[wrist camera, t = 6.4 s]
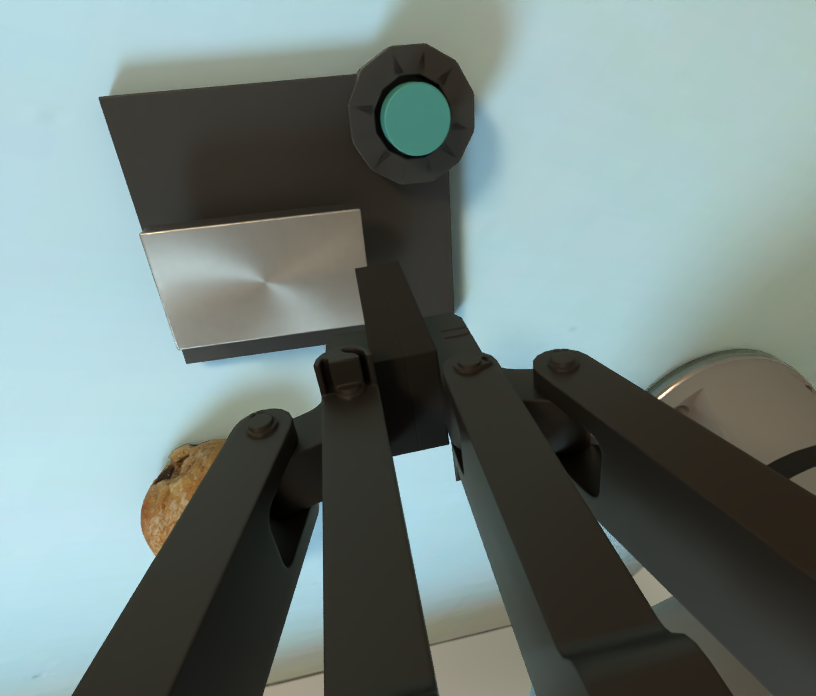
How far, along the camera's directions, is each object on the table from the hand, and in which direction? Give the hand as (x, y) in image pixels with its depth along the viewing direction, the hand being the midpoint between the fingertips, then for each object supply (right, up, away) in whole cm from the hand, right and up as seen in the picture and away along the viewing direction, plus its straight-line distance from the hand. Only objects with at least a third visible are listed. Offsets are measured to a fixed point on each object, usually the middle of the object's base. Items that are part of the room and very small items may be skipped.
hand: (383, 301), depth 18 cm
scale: (-5, +5, +11) cm, 13 cm away
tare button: (+1, +9, +6) cm, 11 cm away
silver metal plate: (-6, +2, +8) cm, 11 cm away
